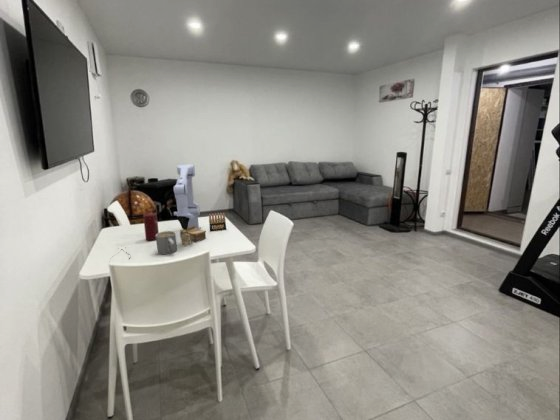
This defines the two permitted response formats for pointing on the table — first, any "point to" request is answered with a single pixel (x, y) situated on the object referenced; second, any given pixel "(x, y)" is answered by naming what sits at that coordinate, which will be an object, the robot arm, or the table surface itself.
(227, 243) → the table surface
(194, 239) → the wooden box
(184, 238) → the tan wooden block
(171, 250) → the coffee mug
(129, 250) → the table surface
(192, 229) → the lid
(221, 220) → the ammunition clip
